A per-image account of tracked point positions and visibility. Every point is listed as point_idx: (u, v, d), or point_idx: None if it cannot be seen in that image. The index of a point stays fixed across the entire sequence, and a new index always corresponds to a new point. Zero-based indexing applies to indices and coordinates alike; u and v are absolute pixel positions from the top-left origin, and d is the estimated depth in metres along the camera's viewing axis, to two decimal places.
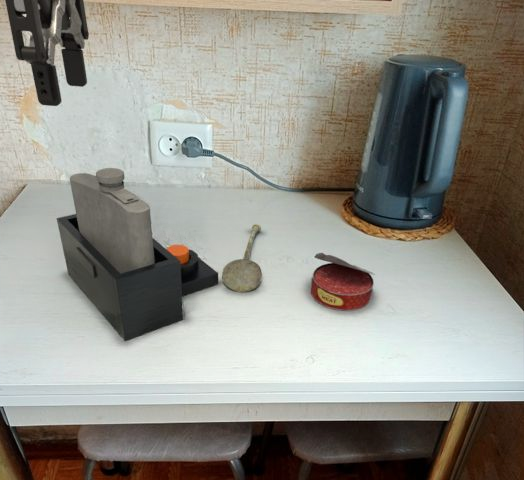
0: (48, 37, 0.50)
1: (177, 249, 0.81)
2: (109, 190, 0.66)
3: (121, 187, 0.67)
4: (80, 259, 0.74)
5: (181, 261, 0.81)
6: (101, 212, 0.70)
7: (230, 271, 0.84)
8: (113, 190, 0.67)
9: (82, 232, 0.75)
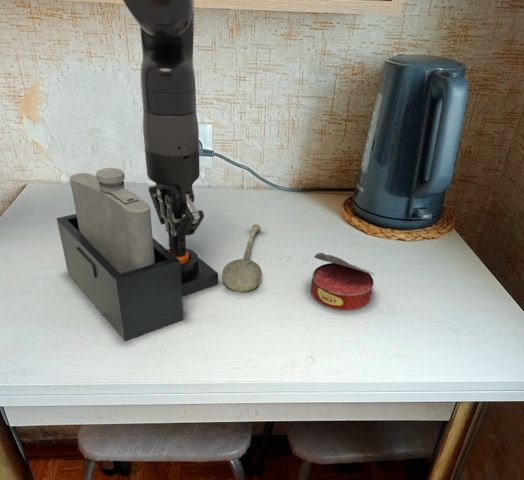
0: None
1: None
2: (109, 190, 0.66)
3: (121, 187, 0.67)
4: (80, 259, 0.74)
5: None
6: (101, 212, 0.70)
7: (230, 271, 0.84)
8: (114, 190, 0.67)
9: (82, 232, 0.75)
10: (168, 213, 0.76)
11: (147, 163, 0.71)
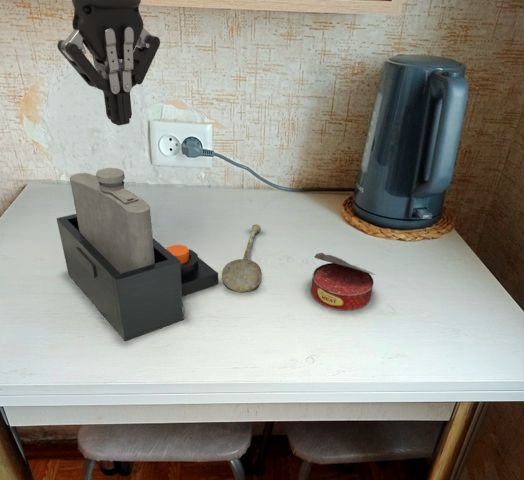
0: (107, 73, 0.60)
1: (177, 249, 0.81)
2: (109, 190, 0.66)
3: (121, 187, 0.67)
4: (80, 259, 0.74)
5: (181, 261, 0.81)
6: (101, 212, 0.70)
7: (230, 271, 0.84)
8: (114, 190, 0.67)
9: (82, 232, 0.75)
10: None
11: None
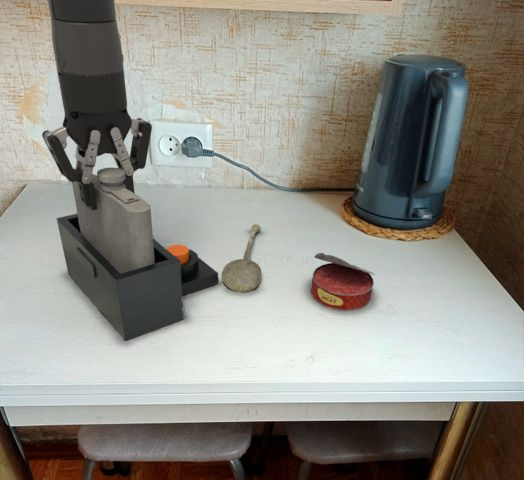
0: (83, 165, 0.64)
1: (177, 249, 0.81)
2: (110, 189, 0.67)
3: (122, 187, 0.67)
4: (80, 259, 0.74)
5: (181, 261, 0.81)
6: (102, 212, 0.70)
7: (230, 271, 0.84)
8: (114, 190, 0.67)
9: (83, 231, 0.75)
10: None
11: None
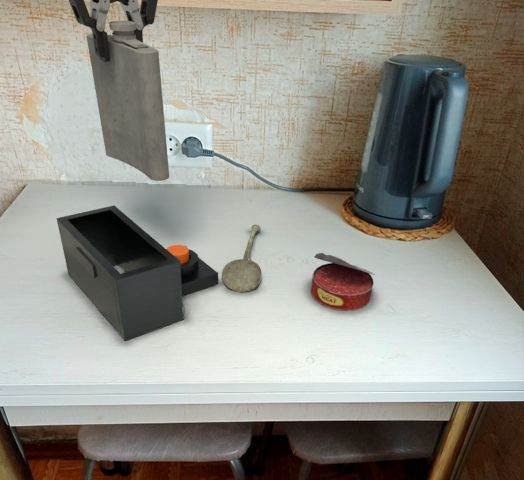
0: (97, 10, 0.68)
1: (177, 249, 0.81)
2: (121, 39, 0.71)
3: (133, 37, 0.72)
4: (80, 259, 0.74)
5: (181, 261, 0.81)
6: (114, 66, 0.74)
7: (230, 271, 0.84)
8: (125, 39, 0.71)
9: (98, 94, 0.80)
10: None
11: None
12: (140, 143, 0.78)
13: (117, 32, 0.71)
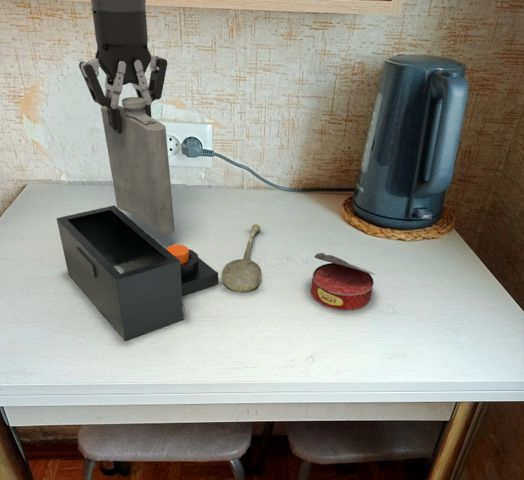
0: (111, 92, 0.78)
1: (177, 249, 0.81)
2: (132, 114, 0.80)
3: (142, 112, 0.81)
4: (80, 259, 0.74)
5: (181, 261, 0.81)
6: (126, 136, 0.83)
7: (230, 271, 0.84)
8: (136, 115, 0.80)
9: (111, 156, 0.89)
10: None
11: None
12: (149, 202, 0.87)
13: (129, 109, 0.80)
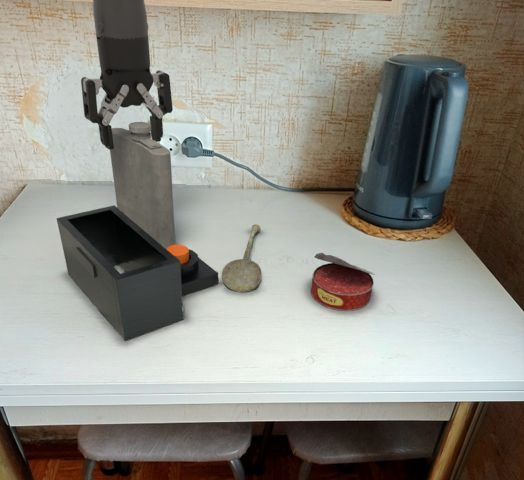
0: (107, 109, 0.79)
1: (177, 249, 0.81)
2: (138, 139, 0.83)
3: (148, 137, 0.83)
4: (80, 259, 0.74)
5: (181, 261, 0.81)
6: (131, 158, 0.86)
7: (230, 271, 0.84)
8: (142, 139, 0.83)
9: (115, 177, 0.91)
10: None
11: None
12: (151, 222, 0.89)
13: (135, 133, 0.83)
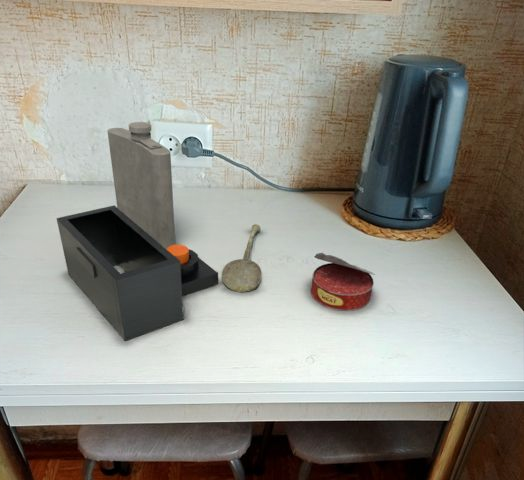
0: None
1: (177, 249, 0.81)
2: (138, 139, 0.83)
3: (148, 137, 0.83)
4: (80, 259, 0.74)
5: (181, 261, 0.81)
6: (131, 158, 0.86)
7: (230, 271, 0.84)
8: (142, 139, 0.83)
9: (115, 177, 0.91)
10: None
11: None
12: (151, 222, 0.89)
13: (135, 133, 0.83)
